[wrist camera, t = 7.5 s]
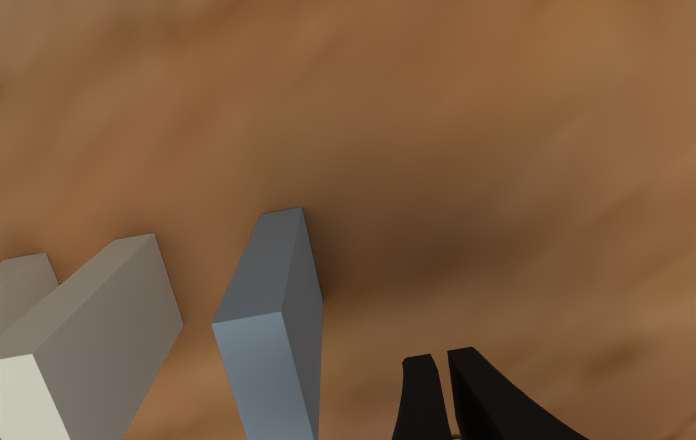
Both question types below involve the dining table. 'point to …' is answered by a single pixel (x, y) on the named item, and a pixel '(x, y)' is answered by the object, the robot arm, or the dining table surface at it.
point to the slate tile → (274, 331)
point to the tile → (23, 286)
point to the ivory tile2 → (90, 348)
